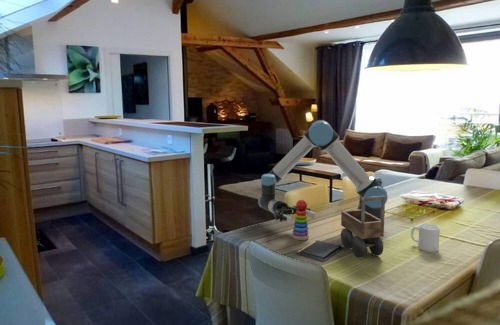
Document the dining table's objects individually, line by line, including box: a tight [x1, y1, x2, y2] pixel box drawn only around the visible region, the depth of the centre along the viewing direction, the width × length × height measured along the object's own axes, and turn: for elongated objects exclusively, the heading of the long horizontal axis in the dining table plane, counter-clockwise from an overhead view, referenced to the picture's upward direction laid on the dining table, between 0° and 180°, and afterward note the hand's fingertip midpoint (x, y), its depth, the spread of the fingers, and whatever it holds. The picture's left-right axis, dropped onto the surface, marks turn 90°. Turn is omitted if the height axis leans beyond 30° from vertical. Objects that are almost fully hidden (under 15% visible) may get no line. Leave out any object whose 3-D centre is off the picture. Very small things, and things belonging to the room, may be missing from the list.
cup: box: [410, 223, 441, 253], centre depth 175 cm, size 8×12×10 cm
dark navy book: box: [293, 240, 345, 263], centre depth 174 cm, size 20×2×15 cm
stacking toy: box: [291, 199, 310, 241], centre depth 188 cm, size 8×8×19 cm
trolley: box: [340, 196, 386, 259], centre depth 170 cm, size 10×19×27 cm, turn 14°
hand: (303, 218), depth 186 cm, fingers open, 13 cm apart
